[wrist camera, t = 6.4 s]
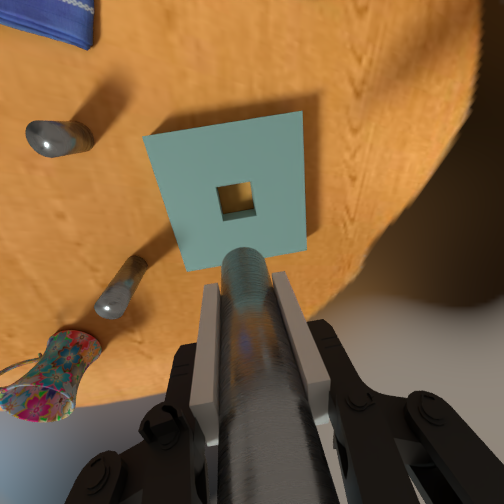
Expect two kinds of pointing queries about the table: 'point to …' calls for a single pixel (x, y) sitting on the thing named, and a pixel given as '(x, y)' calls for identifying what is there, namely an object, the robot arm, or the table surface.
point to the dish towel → (52, 19)
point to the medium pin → (121, 288)
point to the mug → (51, 378)
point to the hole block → (227, 173)
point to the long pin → (263, 398)
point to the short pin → (59, 138)
